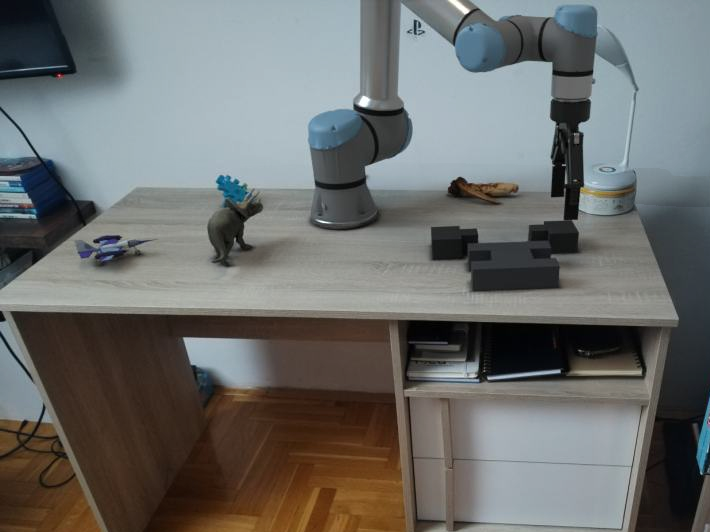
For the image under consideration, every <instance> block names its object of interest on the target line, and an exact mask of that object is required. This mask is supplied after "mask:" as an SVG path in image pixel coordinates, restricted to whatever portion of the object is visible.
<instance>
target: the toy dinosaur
mask: <svg viewBox="0 0 710 532" xmlns="http://www.w3.org/2000/svg"><path fill="white" fill-rule="evenodd" d="M255 189H256V188H253V189H251V190H250V191H249V192H250V193H248V194H247V195H246V196H245V198H244V200H243V201H242V202H241V203H240V202H238V203H237V202H236V203H234V202H232V201H231V200H230V199H228V198H224V197H223V198H224V201H225V203H226V207H227V208H223V209H220V210H216V211H215V212H214V213H213V214H212V216H211V217H210V218H209V219H208V223H207V226H206V229H207V236H208V240H209V242H210V244H211V246H212V247H213V249H214V250H215V252H216V255H214V257H213V258H214V259H213V260H211V264H221V265H223V266H226V267H230V266H231V263H230V262H229V261H228V260H227V259H228V255H229V254H230V252H231V251H232V249H233V247H234V245H235V242H236V243H237V244H238V246H239V247H240V249H241V250H243V251H248V250H250V248H252V244H249V243H246V242H245V240H244V237H243V236H244V233H245V232H244V231H245V227H246V226H245V223H246V222H247V221H248V220H250V219H251V218H252V217H255V216H256V215H258V214H261V213H262V211H263V210H264V204H263V203H262V202H261V198H258V199H257V200H256V201H255V199H256V198H257V197H258V196H259V194H260V189H259V190H258V191H257V192H256V193H255V194H254V195H253V193H254V191H255ZM251 194H252V197H251V198H250V199H249V197H250V195H251ZM248 199H249V200H248ZM253 200H254V202H253V203H252V201H253ZM224 201H223V202H224Z"/></svg>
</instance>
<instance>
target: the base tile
mask: <svg viewBox="0 0 710 532" xmlns="http://www.w3.org/2000/svg"><path fill="white" fill-rule="evenodd" d="M467 267H468V271H469V272H470V284H471V289H472V291H473V292H478V291H480V292H481V291H482V292H483V291H503V290H504V291H505V290H529V289H555V288H556V289H557V288H559V282H560V269H561V266H560V263H559V262H558V259H557V258H556V257H552V253H551V246H550V244H549V242H548V241H528V240H527V241H497V242H478V243H468V255H467Z"/></svg>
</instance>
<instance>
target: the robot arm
mask: <svg viewBox="0 0 710 532" xmlns="http://www.w3.org/2000/svg"><path fill="white" fill-rule="evenodd" d="M359 4H360V6H359V9H360V10H359V13H360V15H359V24H360V25H359V51H360V52H359V56H360V57H359V93H357V95H356V96H355V97H354V98H353V99H352V103H353V104H352V109H351V108H337V109H334V110H327V111H324V112H321V113H318V114H317V115H315V116H313V117H312V118H311V119H310V120H309V122H308V124H307V125H308V126H307V131H308V138H307V142H308V147H309V152H310V153H309V154H310V160H311V167H312V172H313V174H312V175H313V180H314V191H313V192H314V194H313V197H312V203H311V208H310V218H311V222H312V224H313V225H315V226H317V227H319V228H323V229H328V230H350V229H356V228H361V227H365V226H367V225H369V224H371V223H372V222H373V223H374V221H375V220H376V219H377V217H378V211H377V206H376V202H375V201H374V198H373V197H372V193H371V191H370V189H369V187H368V184H367V176H366V175H367V173H366V167H368V166H370V165H373V164H376V163H379V162H382V161H385V160H389V159H393V158H394V157H396V156H397V155H399V154H401V153H403V152H405V150H406V149H408V147H409V145H410V143H411V141H412V139H413V133H414V132H413V130H414V129H413V127H414V126H413V121H412V118H410V117H409V115H410V114H409V113H408V110H407V109H406V108H405V101H404V100H402V98H401V97H400V96H399V75H400V74H399V72H400V71H399V70H400V47H401V43H400V42H401V40H400V39H401V18H402V16H401V15H402V5H403V6H404V7H406V8H407V9H408V10H410V12H412V13H413V14H414V15H415V16H417V17H418V18H419V19H420V20H422V21H423V22H424V24H426V25H427V26H429V27H430V28H431V29H433V30H434V31H435V32H436V33H437V34H439V36H441V37H442V38H443V39H444V40H445V41H447V43H449V44H450V45H452V46H453V47H454V51H455V52H454V53H455V56H456V58H457V60H458V62H459V64H460V66H461V67H462V68H463V69H464V70H466V71H468V72H470V73H473V74H474V73H487V72H488V73H489V72H492V71H496V70H497V69H501V68H504V67H509V66H512V65H516V64H520V63H523V62H542V63H551V64H552V65H551V68H552V69H551V81H550V82H551V84H550V96H551V97H552V99H551V100H550V106H549V118H550V120H551V121H552V122H554V123H555V128H554V134H553V139H552V146H551V151H550V155H549V156H550V160H551V165H552V167H551V181H550V182H551V185H550V198H553V199H554V198H564V205H563V206H564V207H563V221H564V220H572V221H578V220H579V211H580V198H581V188H584V187H585V171H584V169H585V168H584V165H585V164H584V137H585V134H584V132H582V131H580V128H579V125H580V124H582V123H586V122H588V121H589V120H590V118H591V110H592V109H591V107H592V101H591V99H590V97H592V91H593V85H594V84H596V78H594V67H595V57H596V46H597V37H598V34H599V33H598V10H597V8H596V7H595V6H593V5H591V4H562V5H557V6H556V8H555V10H554V15H553V16H548V17H547V16H531V15H530V16H529V15H522V14H514V15H513V14H512V15H504V16H501V17H500V18H499V19H498V20H495V19H493V18H492V17H491V16H489V14H487V13H486V12H484V11H483V10H482V9H481V8H480V7H479V6H477V5H476V4H475V3H474V2H472V1H471V0H360V1H359ZM566 182H567V183H566Z"/></svg>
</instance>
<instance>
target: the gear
mask: <svg viewBox="0 0 710 532" xmlns="http://www.w3.org/2000/svg"><path fill="white" fill-rule="evenodd" d="M214 182H215V184H218V185H217V186H216V189H217V190H218V191H221V192H222V193H221V194H222V197H223V198H225V199H226V198H228V199H230V200H231V201H232V202H234V203H236V204H237V203H241V202H242V201H243V200H244V198H245V196H246V195H247V194H248V193H250V192H251V191H247V190H248V186H249V185H248V184H247V183H246V182H244V183H243V184H242V185H240V183H241V182H240V180H239V179H238V178H234V180H233V181H232V176H230V175H229V174H226V175H225V176H224V175H223V174H220V175H218V177H217V178H216V180H214ZM252 196H253V193H252V194H251V195H250V197H249V199H250V198H251V197H252ZM249 199H248V200H249ZM254 202H255V199H254V200H253V201H252V203H254ZM221 205H222V206H223V207H227V205H226V203H225V201H223V202H222V203H221Z"/></svg>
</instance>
